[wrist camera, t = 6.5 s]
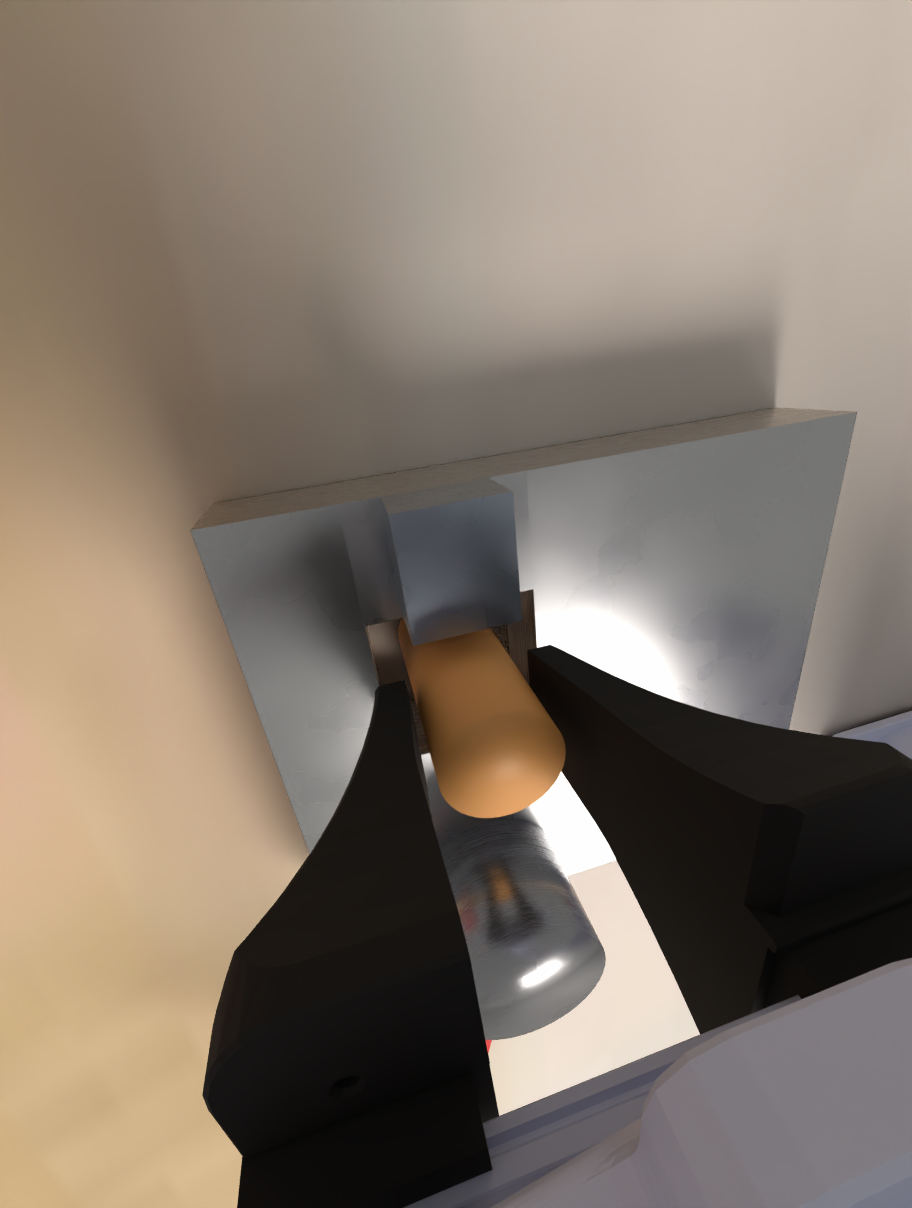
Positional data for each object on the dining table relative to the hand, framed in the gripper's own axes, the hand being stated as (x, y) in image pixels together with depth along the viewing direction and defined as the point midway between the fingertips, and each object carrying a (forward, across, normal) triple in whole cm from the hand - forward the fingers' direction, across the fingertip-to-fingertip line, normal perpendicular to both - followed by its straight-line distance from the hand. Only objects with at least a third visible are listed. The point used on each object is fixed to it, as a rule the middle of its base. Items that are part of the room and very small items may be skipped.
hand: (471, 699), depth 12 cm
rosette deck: (+3, -3, +2) cm, 5 cm away
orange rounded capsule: (+3, 0, 0) cm, 3 cm away
